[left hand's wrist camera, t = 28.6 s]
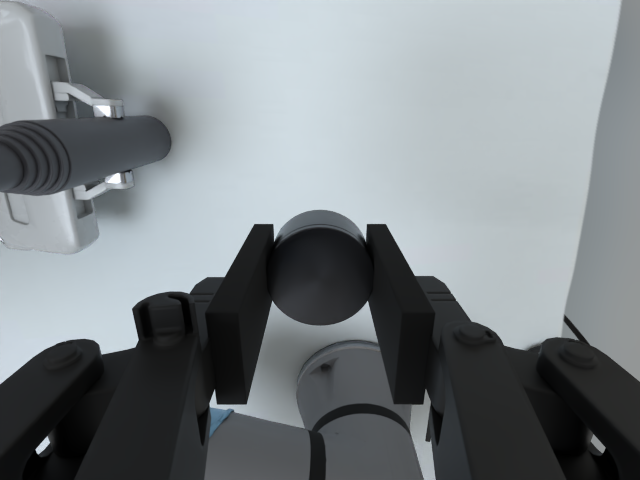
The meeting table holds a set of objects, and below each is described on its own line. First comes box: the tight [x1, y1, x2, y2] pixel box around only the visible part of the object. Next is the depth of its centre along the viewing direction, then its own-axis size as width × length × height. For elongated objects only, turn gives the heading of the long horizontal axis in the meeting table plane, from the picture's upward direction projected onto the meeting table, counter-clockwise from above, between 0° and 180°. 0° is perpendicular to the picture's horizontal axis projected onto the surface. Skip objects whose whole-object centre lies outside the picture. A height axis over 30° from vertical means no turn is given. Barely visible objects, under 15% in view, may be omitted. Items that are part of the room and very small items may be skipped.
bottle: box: [0, 116, 171, 196], centre depth 27 cm, size 5×5×21 cm
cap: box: [266, 210, 374, 325], centre depth 13 cm, size 4×4×2 cm
